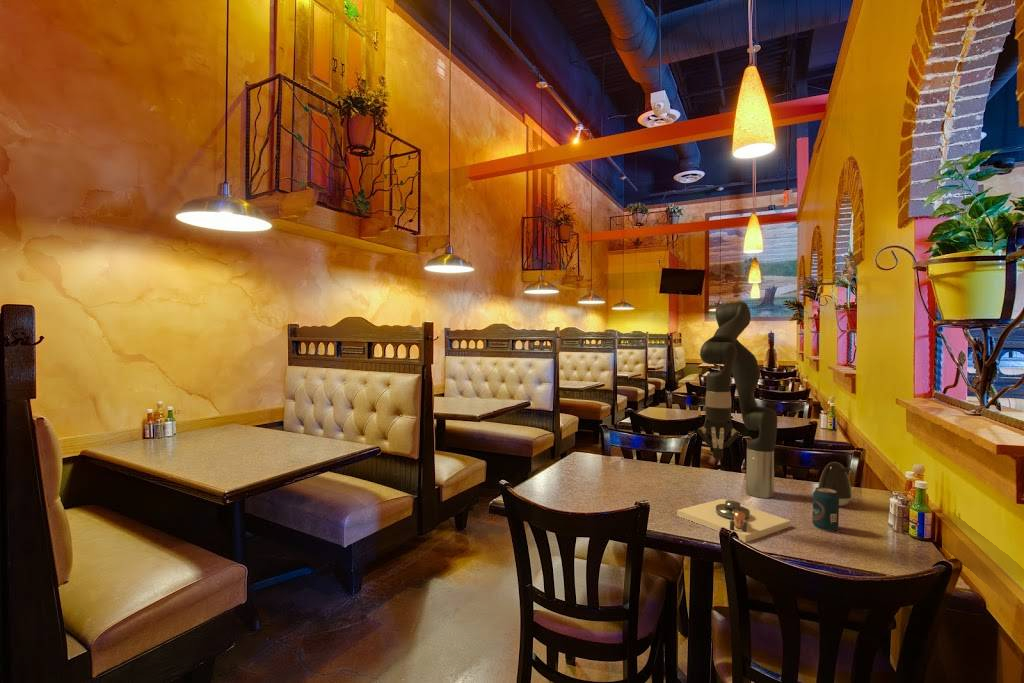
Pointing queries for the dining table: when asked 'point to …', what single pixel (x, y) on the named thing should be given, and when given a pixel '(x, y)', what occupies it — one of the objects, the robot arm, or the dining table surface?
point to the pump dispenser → (837, 481)
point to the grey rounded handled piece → (733, 512)
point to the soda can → (825, 509)
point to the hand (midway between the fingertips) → (718, 459)
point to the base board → (750, 530)
